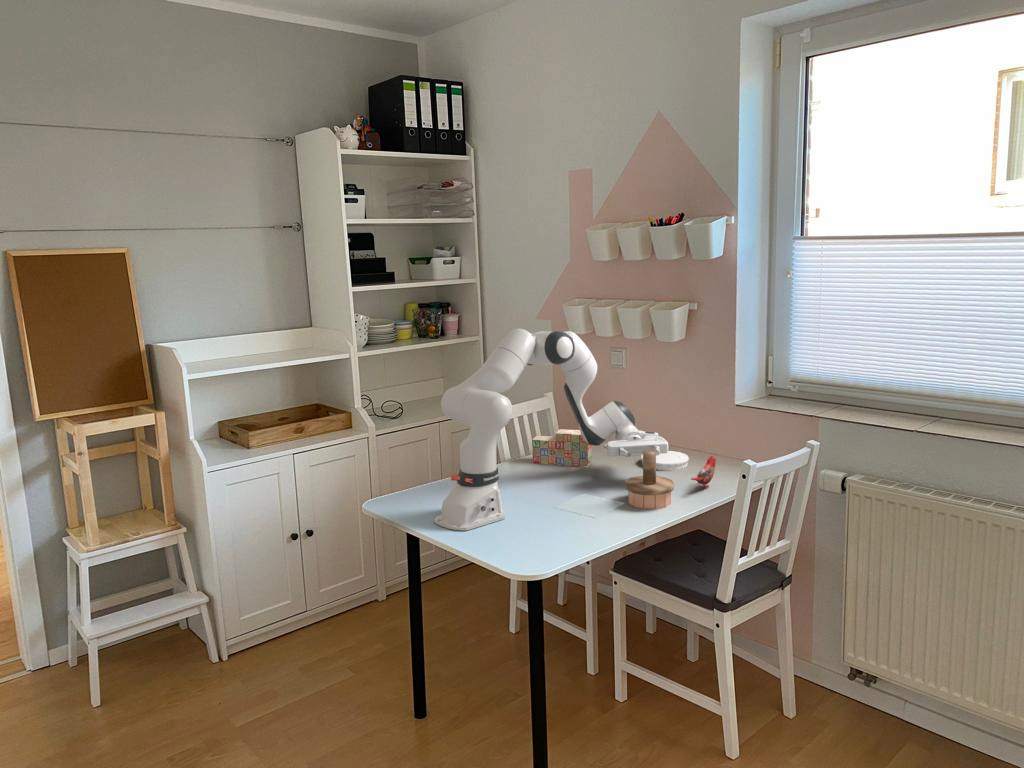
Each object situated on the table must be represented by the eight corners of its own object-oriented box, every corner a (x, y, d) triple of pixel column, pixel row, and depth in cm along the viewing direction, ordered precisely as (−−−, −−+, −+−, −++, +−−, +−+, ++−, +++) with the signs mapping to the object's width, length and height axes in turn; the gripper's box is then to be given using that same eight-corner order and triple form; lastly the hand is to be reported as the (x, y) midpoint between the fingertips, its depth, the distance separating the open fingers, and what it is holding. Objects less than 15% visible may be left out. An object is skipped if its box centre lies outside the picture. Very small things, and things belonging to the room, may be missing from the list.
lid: (690, 457, 292) (690, 449, 291) (687, 472, 273) (687, 464, 272) (644, 455, 296) (644, 447, 296) (638, 470, 277) (638, 462, 277)
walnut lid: (658, 498, 232) (658, 461, 230) (616, 489, 241) (615, 453, 239) (682, 485, 243) (683, 450, 241) (641, 477, 253) (641, 443, 250)
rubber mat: (596, 519, 231) (596, 518, 231) (553, 508, 241) (553, 507, 241) (625, 504, 242) (625, 503, 242) (583, 494, 253) (583, 493, 253)
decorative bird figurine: (719, 483, 259) (719, 454, 257) (695, 498, 246) (695, 468, 244) (711, 482, 261) (711, 453, 259) (686, 496, 247) (686, 466, 246)
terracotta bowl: (657, 512, 234) (657, 497, 233) (620, 504, 242) (620, 489, 241) (678, 501, 244) (678, 485, 243) (642, 493, 252) (642, 478, 251)
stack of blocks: (532, 463, 290) (531, 431, 288) (537, 459, 296) (536, 427, 294) (588, 467, 283) (587, 434, 281) (592, 462, 289) (591, 430, 286)
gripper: (602, 435, 262) (610, 446, 249) (661, 432, 264) (673, 442, 250) (602, 453, 263) (610, 465, 250) (661, 450, 265) (673, 461, 251)
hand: (642, 453), depth 250 cm, fingers open, 8 cm apart
